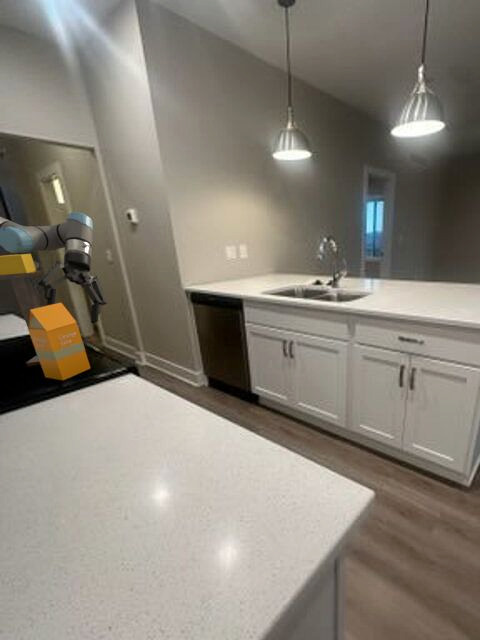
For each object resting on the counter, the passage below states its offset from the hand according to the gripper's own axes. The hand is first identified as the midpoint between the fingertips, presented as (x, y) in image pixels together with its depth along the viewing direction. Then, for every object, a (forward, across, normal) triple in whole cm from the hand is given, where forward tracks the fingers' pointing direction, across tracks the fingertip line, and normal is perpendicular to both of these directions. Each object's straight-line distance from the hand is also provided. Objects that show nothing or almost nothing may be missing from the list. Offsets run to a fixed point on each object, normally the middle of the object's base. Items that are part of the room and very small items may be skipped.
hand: (73, 316), depth 109 cm
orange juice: (+20, -2, -4) cm, 20 cm away
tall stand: (+12, 0, +12) cm, 17 cm away
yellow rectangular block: (-13, -12, +6) cm, 18 cm away
